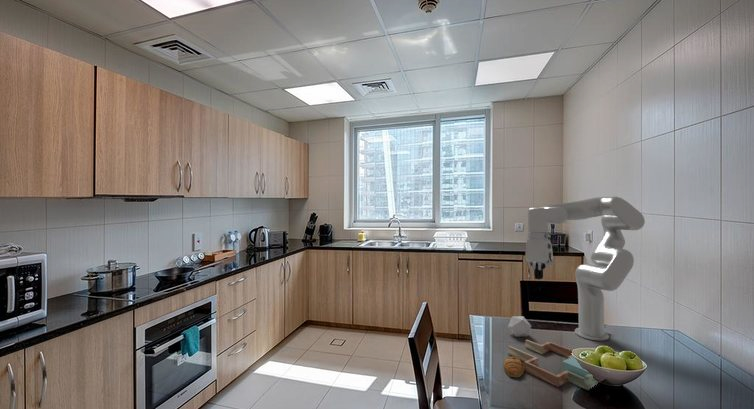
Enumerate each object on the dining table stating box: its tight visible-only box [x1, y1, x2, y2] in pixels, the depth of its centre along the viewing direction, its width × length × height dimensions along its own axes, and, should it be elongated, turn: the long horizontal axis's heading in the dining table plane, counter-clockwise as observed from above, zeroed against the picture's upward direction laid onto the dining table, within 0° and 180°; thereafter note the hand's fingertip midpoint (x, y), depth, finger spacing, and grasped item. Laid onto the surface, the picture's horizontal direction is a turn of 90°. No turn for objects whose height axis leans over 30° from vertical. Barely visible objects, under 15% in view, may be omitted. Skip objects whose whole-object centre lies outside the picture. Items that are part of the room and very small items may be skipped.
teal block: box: [562, 357, 589, 377], centre depth 105 cm, size 6×8×5 cm
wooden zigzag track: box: [507, 339, 599, 391], centre depth 114 cm, size 24×29×4 cm
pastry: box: [503, 356, 525, 379], centre depth 110 cm, size 9×7×4 cm
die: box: [507, 315, 532, 338], centre depth 141 cm, size 8×9×10 cm
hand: (538, 278), depth 134 cm, fingers closed
